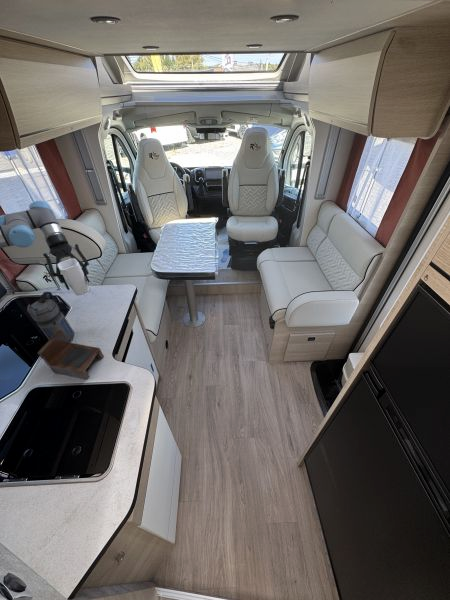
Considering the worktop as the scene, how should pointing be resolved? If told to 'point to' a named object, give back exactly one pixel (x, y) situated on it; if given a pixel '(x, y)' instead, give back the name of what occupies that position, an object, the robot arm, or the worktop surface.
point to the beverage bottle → (50, 317)
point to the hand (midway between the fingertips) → (78, 285)
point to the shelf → (68, 356)
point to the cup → (74, 276)
